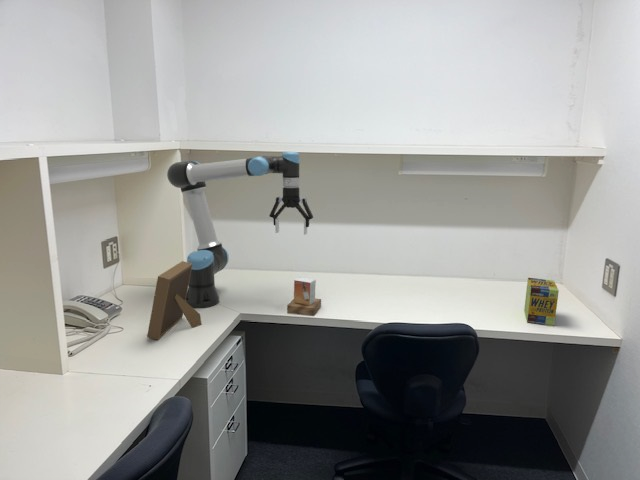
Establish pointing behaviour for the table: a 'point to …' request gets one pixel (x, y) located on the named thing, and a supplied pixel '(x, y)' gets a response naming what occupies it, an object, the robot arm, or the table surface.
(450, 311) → the table surface
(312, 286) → the small box
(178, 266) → the photo frame
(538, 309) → the protein box
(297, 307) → the plinth
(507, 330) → the table surface
